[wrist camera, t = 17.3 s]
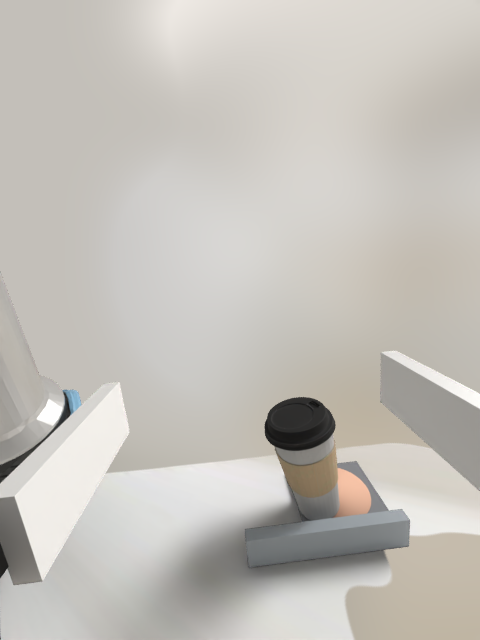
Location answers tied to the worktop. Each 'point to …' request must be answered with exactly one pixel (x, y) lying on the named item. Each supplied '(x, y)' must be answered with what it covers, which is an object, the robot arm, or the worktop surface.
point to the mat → (355, 492)
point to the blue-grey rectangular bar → (327, 537)
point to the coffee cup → (306, 454)
